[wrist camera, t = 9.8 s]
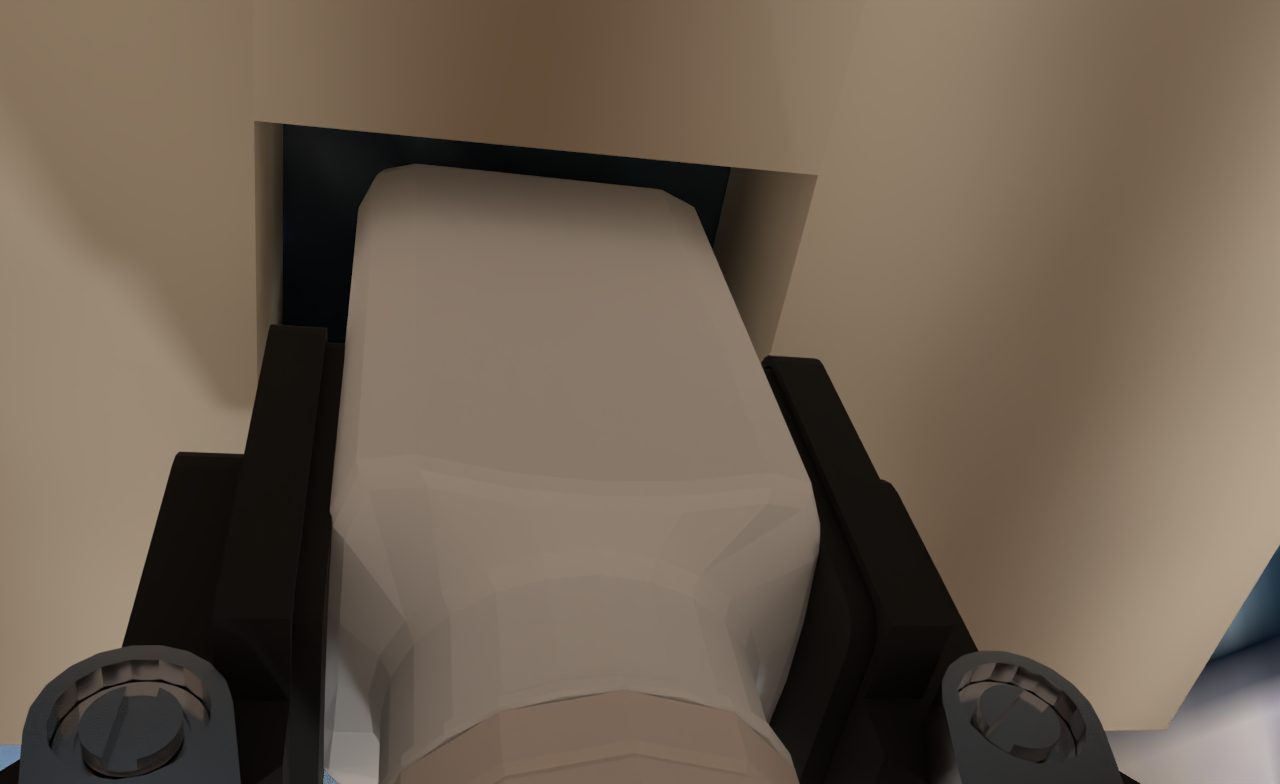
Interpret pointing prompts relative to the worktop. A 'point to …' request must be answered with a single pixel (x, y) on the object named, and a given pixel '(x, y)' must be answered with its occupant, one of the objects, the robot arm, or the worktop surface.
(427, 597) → the pepper shaker
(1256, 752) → the worktop surface
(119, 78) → the spice stand
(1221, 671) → the worktop surface
